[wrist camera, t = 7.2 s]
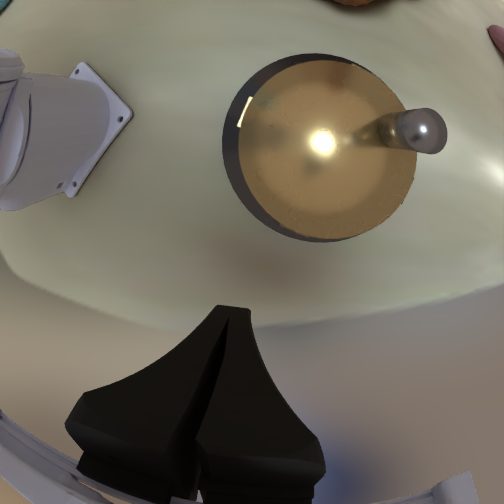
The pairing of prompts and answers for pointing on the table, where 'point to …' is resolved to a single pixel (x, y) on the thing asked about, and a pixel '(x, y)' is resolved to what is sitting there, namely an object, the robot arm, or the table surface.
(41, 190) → the robot arm
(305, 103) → the round lid with handle
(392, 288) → the table surface
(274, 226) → the base plate
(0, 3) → the sugar bowl
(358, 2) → the pastry
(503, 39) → the video game controller
